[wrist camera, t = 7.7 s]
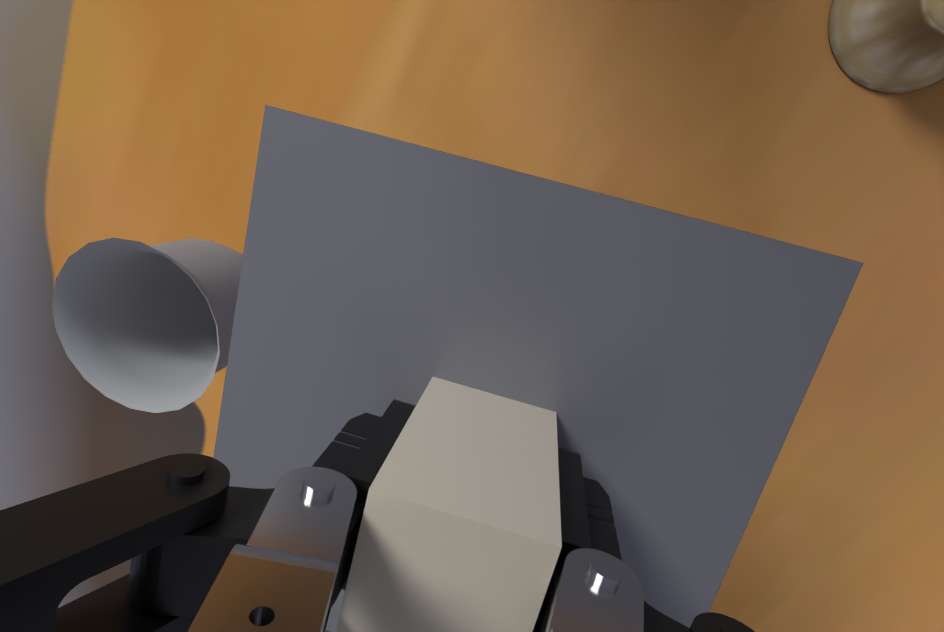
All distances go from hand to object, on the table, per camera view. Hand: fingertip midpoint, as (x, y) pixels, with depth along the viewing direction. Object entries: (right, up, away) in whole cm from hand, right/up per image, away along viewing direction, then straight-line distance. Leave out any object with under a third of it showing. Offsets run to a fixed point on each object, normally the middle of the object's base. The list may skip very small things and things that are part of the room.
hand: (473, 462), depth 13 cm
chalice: (-11, +7, +27) cm, 30 cm away
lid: (0, +1, +3) cm, 3 cm away
